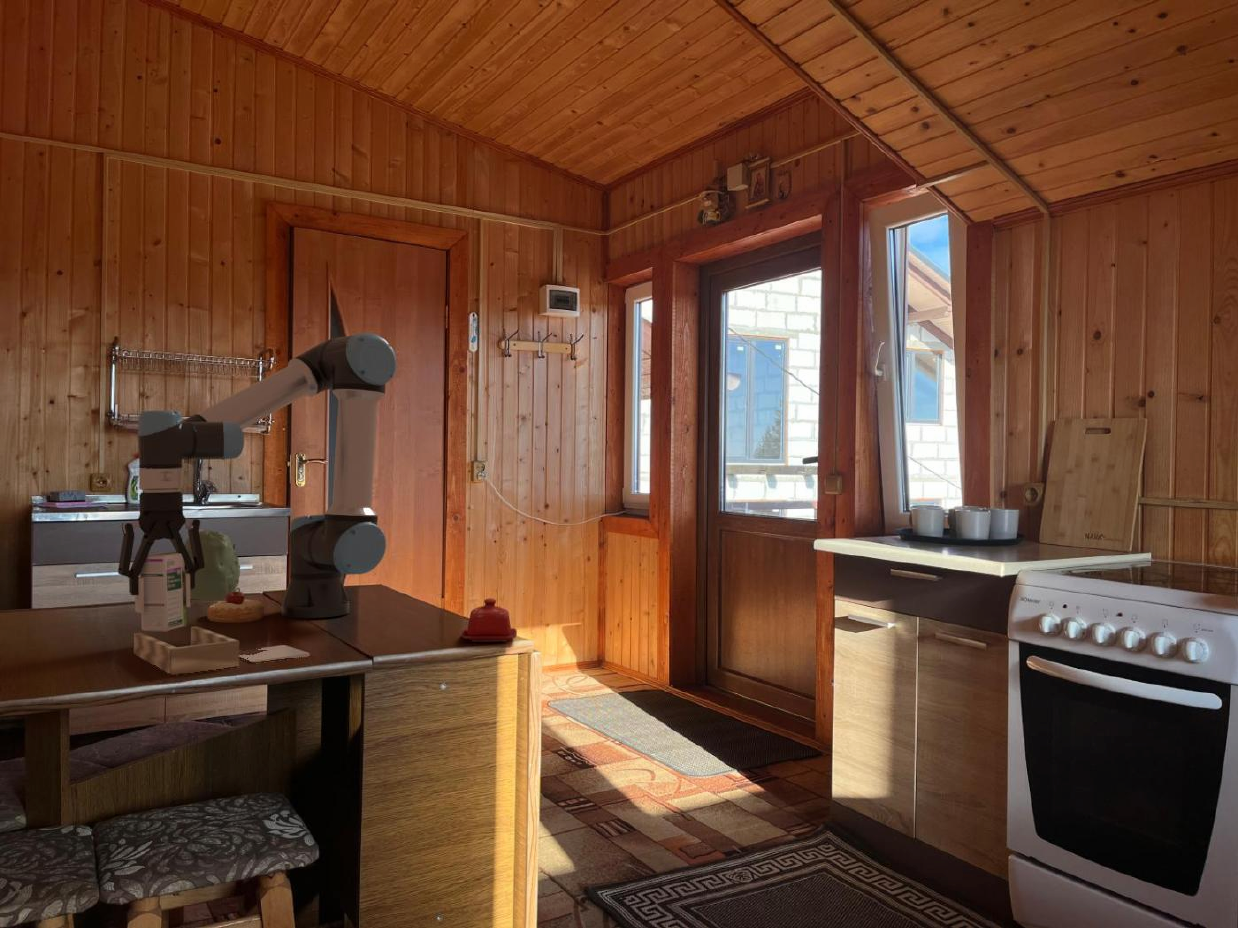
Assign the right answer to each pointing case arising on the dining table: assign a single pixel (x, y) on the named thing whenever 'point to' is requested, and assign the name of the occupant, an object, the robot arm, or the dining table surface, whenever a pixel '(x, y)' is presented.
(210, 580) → the green lumpy fruit
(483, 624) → the butter dish
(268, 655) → the coaster
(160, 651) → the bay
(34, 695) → the dining table surface
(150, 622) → the syrup box
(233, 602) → the pastry
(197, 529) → the robot arm
